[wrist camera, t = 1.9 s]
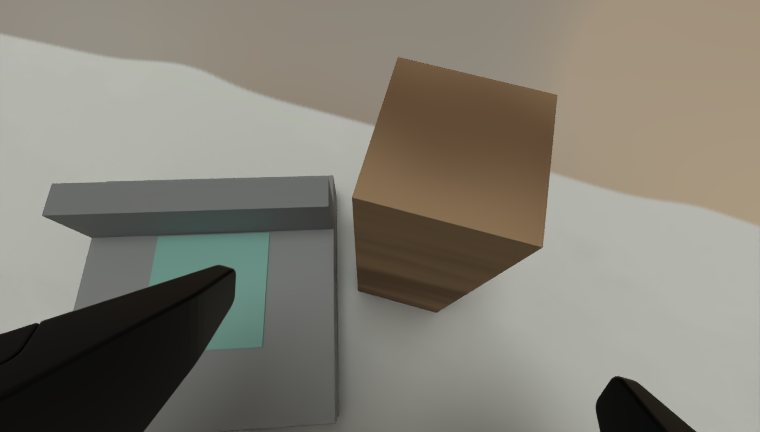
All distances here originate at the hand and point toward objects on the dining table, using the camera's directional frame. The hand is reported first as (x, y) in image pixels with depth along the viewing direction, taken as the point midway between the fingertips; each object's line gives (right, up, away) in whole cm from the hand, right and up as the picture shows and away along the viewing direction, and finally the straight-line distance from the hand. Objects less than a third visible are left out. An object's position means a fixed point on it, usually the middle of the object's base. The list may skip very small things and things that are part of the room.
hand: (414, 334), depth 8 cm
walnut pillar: (+1, 0, +12) cm, 12 cm away
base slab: (-9, -2, +11) cm, 15 cm away
